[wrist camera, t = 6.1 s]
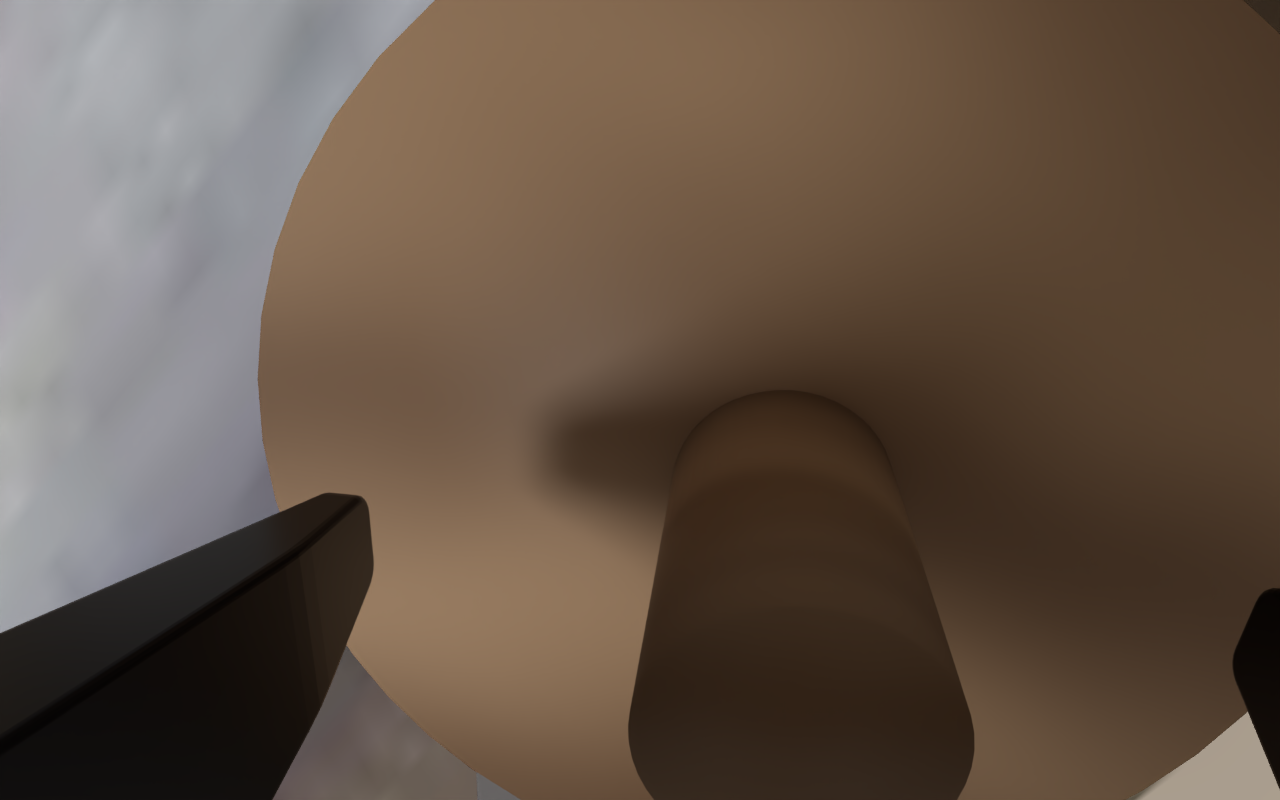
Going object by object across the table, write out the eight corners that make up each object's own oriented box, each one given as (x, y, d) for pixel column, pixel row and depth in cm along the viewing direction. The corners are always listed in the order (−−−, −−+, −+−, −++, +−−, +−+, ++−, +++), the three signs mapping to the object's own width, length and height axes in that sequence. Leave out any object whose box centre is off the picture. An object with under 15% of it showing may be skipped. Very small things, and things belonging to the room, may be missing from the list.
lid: (1166, 882, 13) (1379, 1320, 8) (341, 772, 14) (155, 1105, 10) (1583, -113, 8) (2681, -309, 3) (219, -150, 9) (-296, -328, 5)
